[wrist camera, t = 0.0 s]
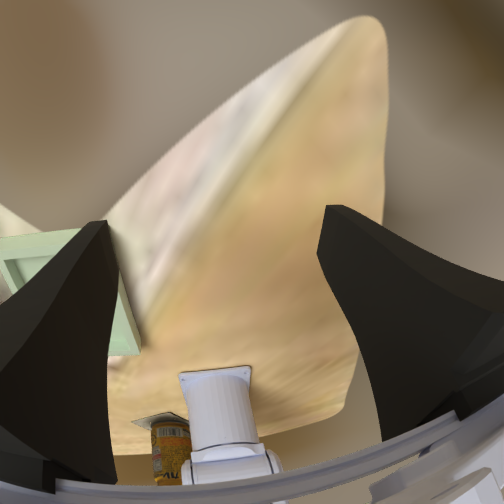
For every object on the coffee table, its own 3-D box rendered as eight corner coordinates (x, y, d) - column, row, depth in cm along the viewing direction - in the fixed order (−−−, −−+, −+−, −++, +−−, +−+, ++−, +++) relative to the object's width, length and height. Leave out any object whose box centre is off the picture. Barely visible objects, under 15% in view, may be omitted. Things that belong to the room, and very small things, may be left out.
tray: (141, 339, 27) (140, 354, 26) (53, 341, 26) (50, 356, 24) (108, 225, 20) (103, 240, 18) (1, 238, 18) (-8, 252, 17)
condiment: (165, 436, 44) (173, 501, 34) (130, 420, 38) (134, 495, 29) (202, 426, 43) (213, 496, 33) (169, 410, 38) (177, 491, 28)
